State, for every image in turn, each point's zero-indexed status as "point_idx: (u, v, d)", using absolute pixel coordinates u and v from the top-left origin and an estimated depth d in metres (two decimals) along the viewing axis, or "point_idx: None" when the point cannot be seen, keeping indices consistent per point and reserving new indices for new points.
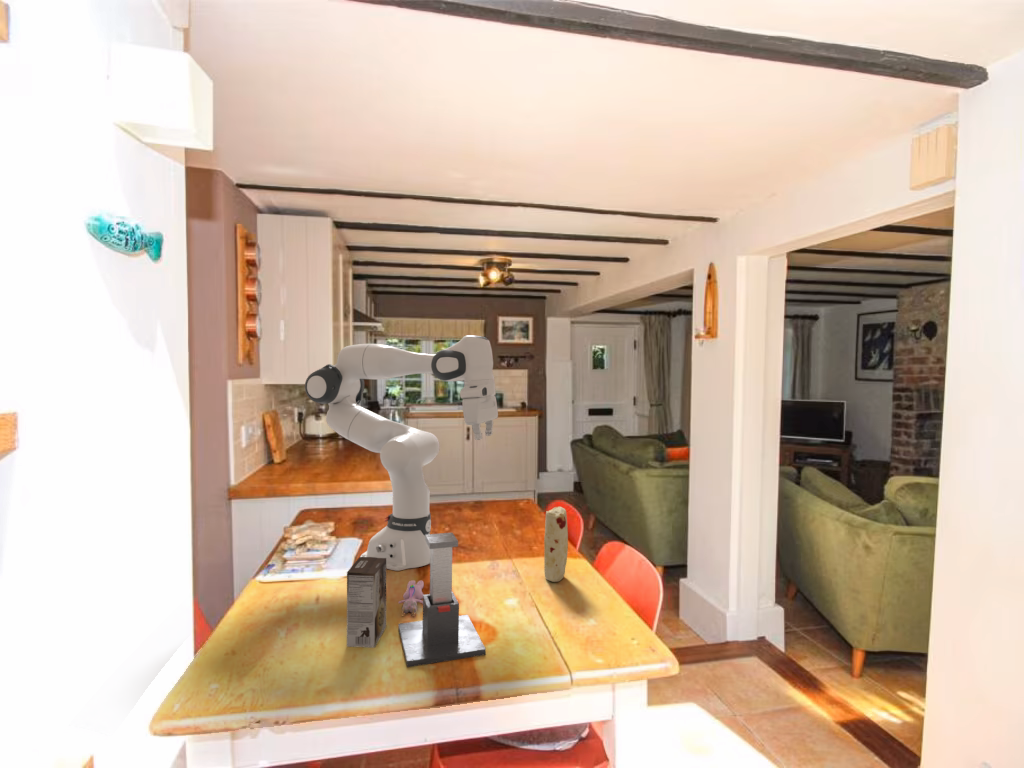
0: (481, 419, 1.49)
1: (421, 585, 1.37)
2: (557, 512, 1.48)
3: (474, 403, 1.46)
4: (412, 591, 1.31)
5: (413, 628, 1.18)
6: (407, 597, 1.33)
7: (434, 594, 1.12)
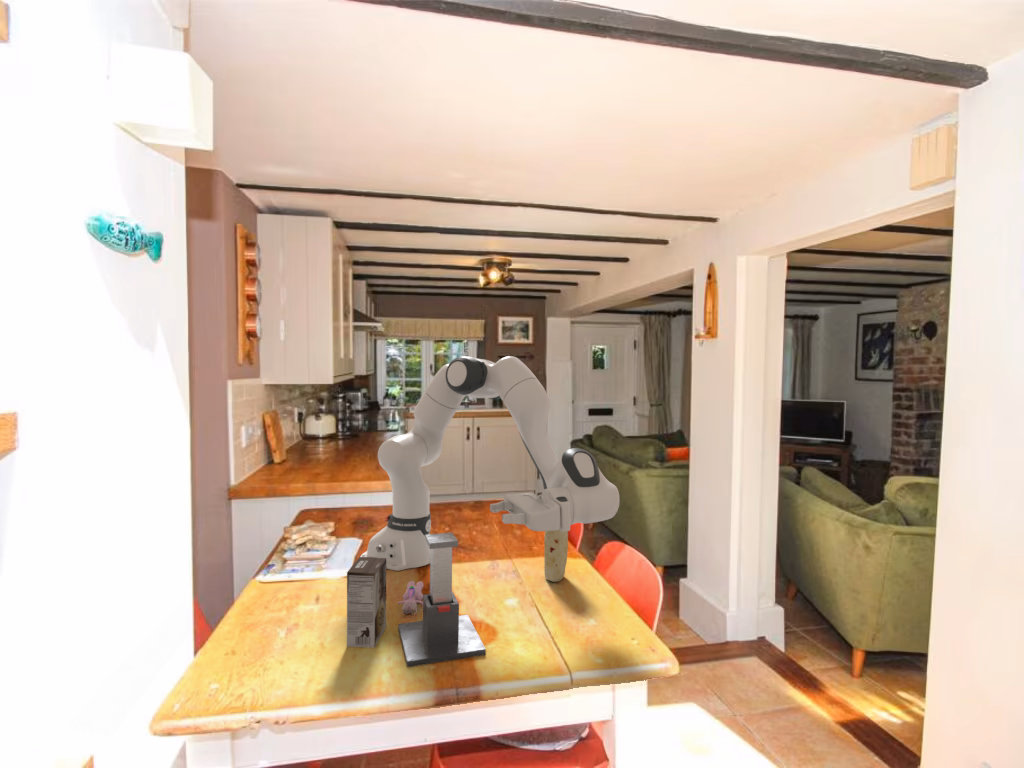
0: None
1: (421, 586, 1.36)
2: None
3: (556, 525, 1.13)
4: (412, 592, 1.30)
5: (413, 628, 1.18)
6: (407, 598, 1.32)
7: (434, 594, 1.12)
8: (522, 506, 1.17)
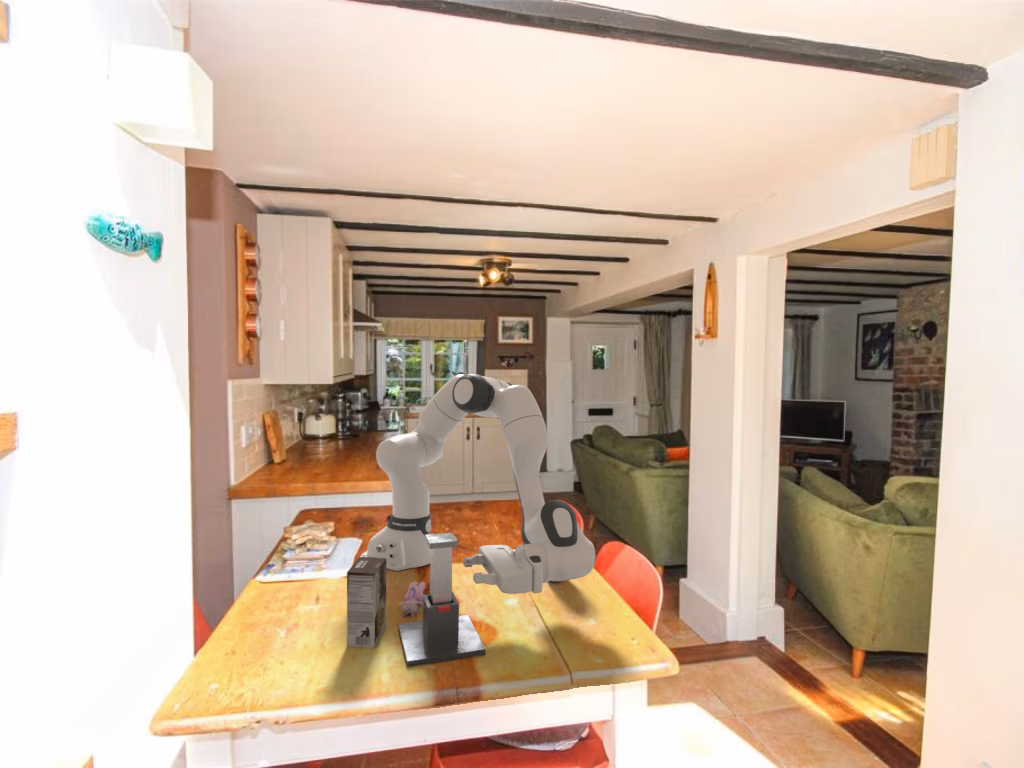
0: None
1: (422, 587, 1.36)
2: None
3: (528, 587, 1.11)
4: (413, 593, 1.30)
5: (413, 628, 1.18)
6: (408, 599, 1.32)
7: (434, 594, 1.12)
8: (495, 564, 1.16)
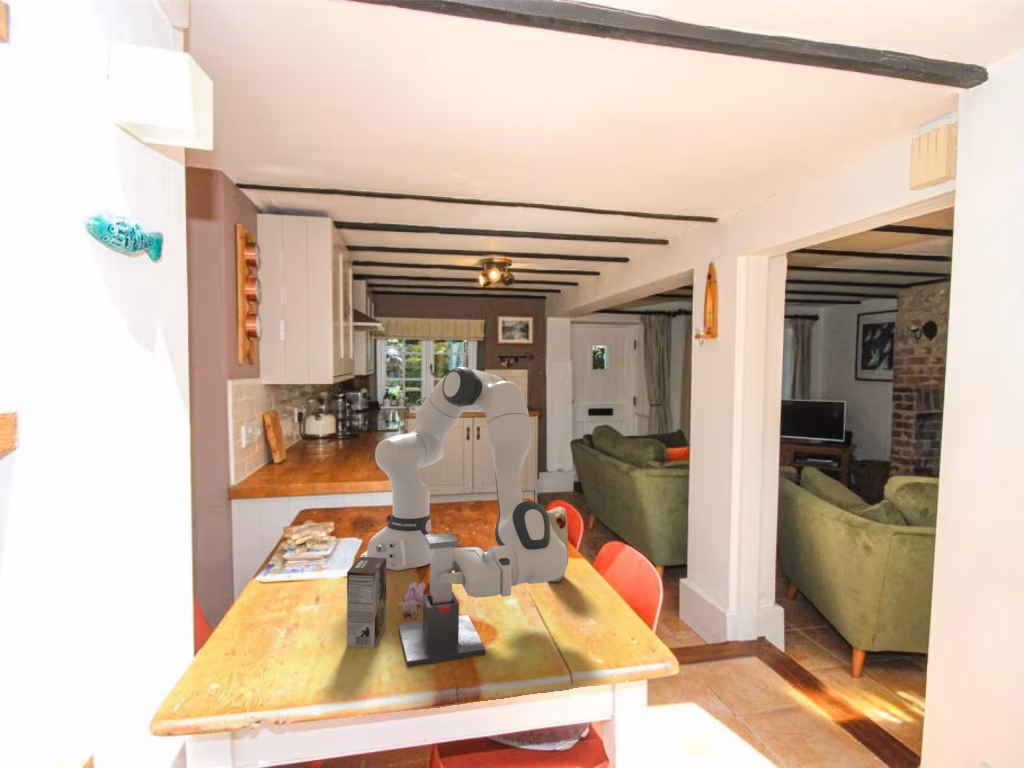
0: None
1: (422, 587, 1.35)
2: (557, 512, 1.48)
3: (496, 590, 1.09)
4: (412, 593, 1.29)
5: (413, 628, 1.18)
6: (408, 599, 1.32)
7: (434, 594, 1.12)
8: (463, 567, 1.13)
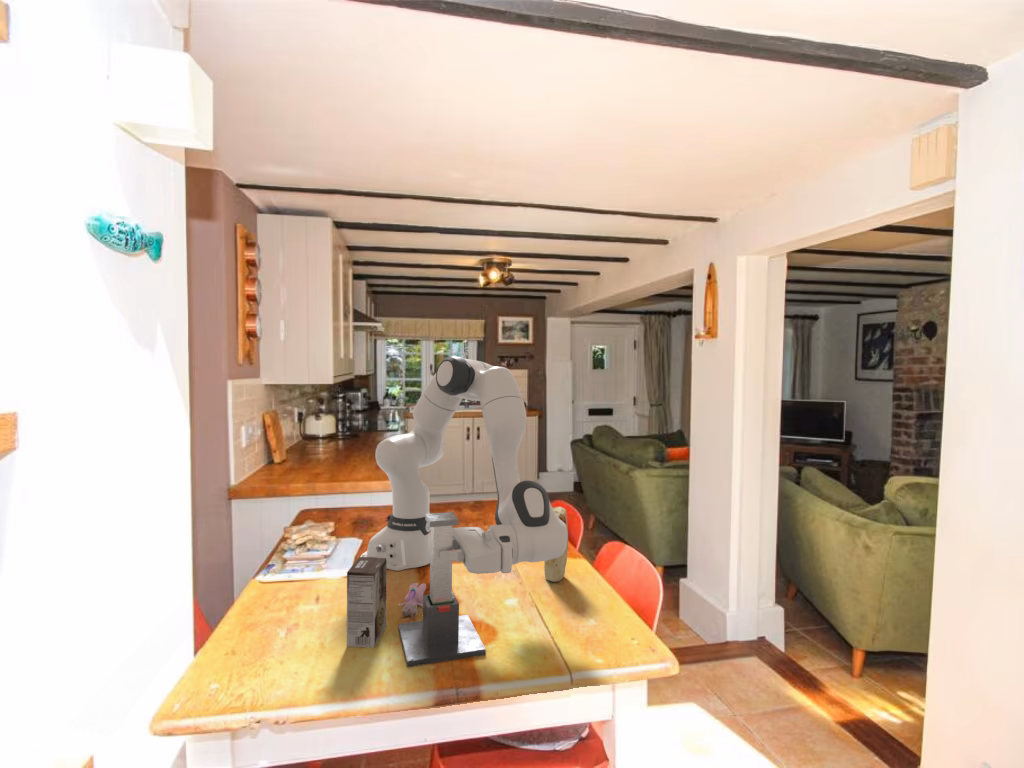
0: None
1: (423, 588, 1.35)
2: (557, 512, 1.48)
3: (496, 567, 1.09)
4: (413, 594, 1.29)
5: (413, 628, 1.18)
6: (408, 600, 1.31)
7: (434, 573, 1.12)
8: (463, 545, 1.13)
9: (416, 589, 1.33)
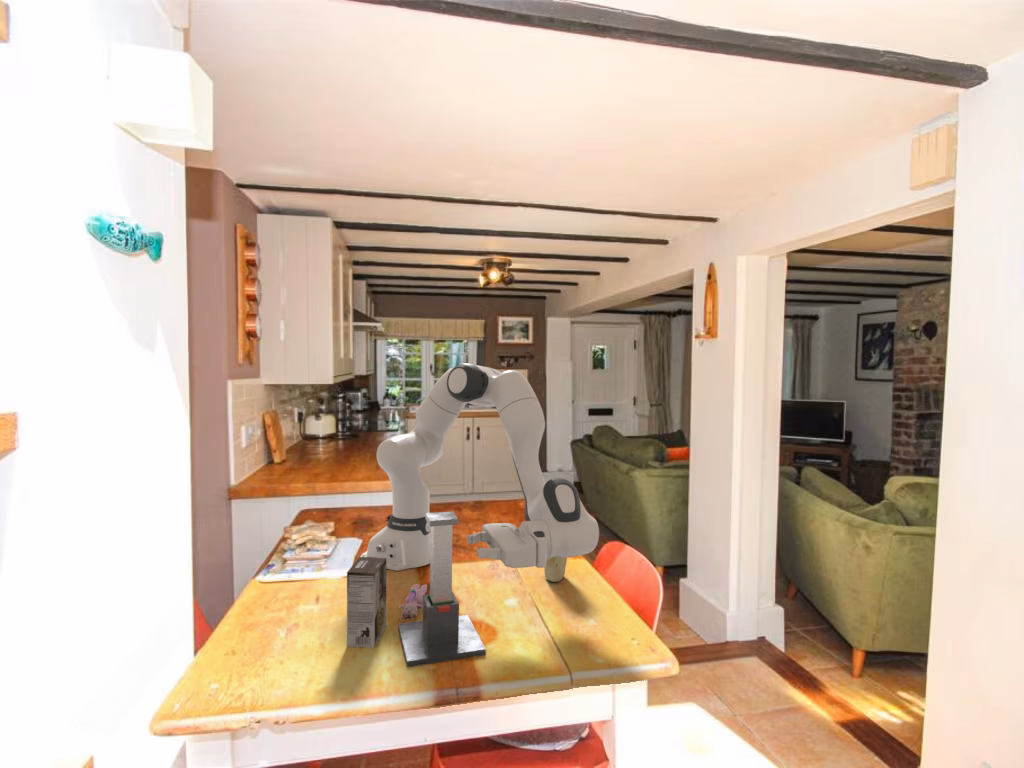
0: None
1: (424, 589, 1.34)
2: None
3: (532, 561, 1.11)
4: (413, 595, 1.28)
5: (413, 628, 1.18)
6: (409, 601, 1.31)
7: (434, 572, 1.12)
8: (498, 540, 1.15)
9: (417, 590, 1.32)
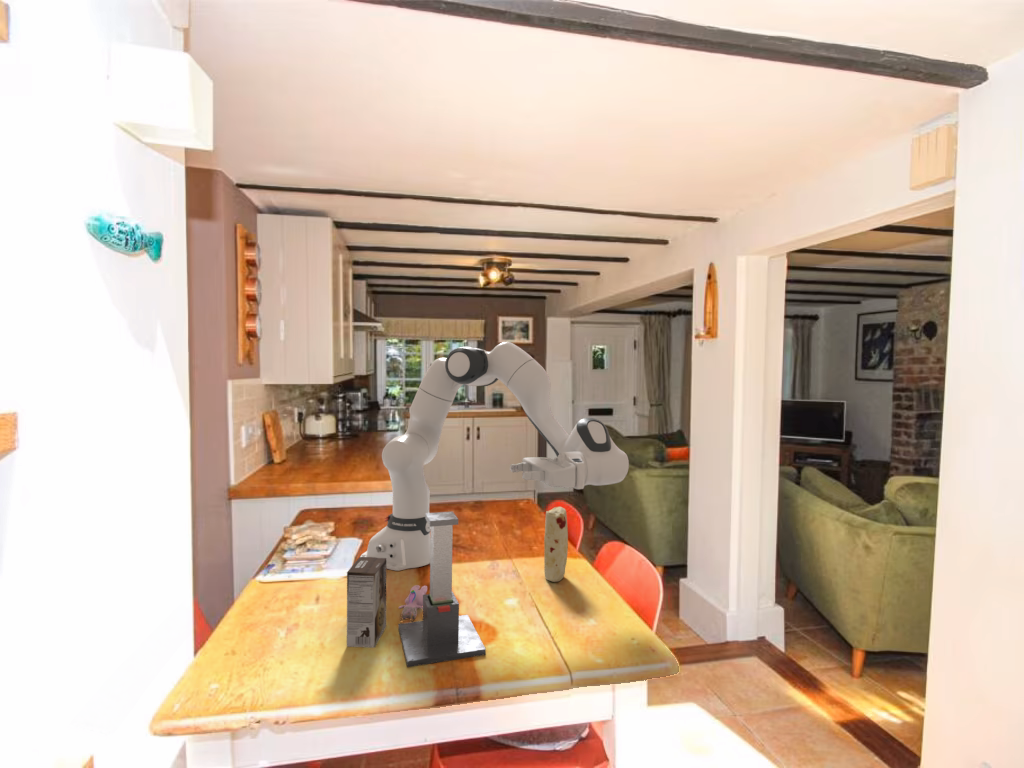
0: None
1: (424, 590, 1.33)
2: (557, 512, 1.48)
3: (572, 482, 1.24)
4: (412, 596, 1.28)
5: (413, 628, 1.18)
6: (408, 602, 1.30)
7: (434, 572, 1.12)
8: (540, 465, 1.29)
9: (417, 591, 1.31)
